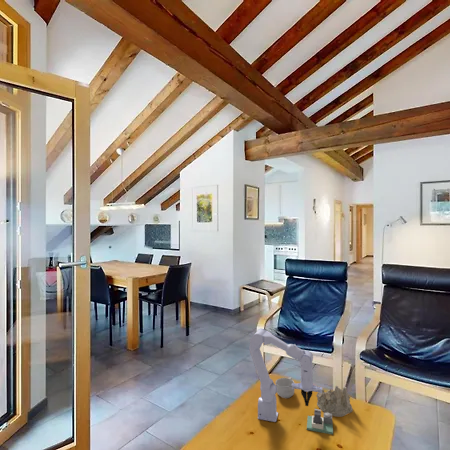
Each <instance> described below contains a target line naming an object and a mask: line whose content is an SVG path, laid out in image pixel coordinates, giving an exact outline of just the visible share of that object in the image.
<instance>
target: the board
mask: <svg viewBox="0 0 450 450" xmlns="http://www.w3.org/2000/svg"><path fill="white" fill-rule="evenodd" d="M333 427H334V426H333V416H332V414H330V413H325V412H323V417H322V416H321V424H317V423H314V415H307V422H306V430H307V431H311V432H312V431H313V432H318V433H322V434H323V433H324V434H328V435H334V428H333Z"/></svg>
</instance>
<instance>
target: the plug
mask: <svg viewBox="0 0 450 450" xmlns="http://www.w3.org/2000/svg"><path fill="white" fill-rule="evenodd" d="M313 416H314V423H317V424H321V417H322V410H321V409H320V408H319V409H317V408H314V412H313Z"/></svg>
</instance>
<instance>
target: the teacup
mask: <svg viewBox="0 0 450 450" xmlns="http://www.w3.org/2000/svg"><path fill="white" fill-rule="evenodd" d="M292 383H295V381H294V380H293V378H292V377H290V376H289V377H288V378H287V377H281V378H278V379H276V380H275V383H274V384H275V385H276V386H277V393H276V394H277V395H278V396H279V397H281V398H283V399H290V398H292V396H293V395H295V389H292Z"/></svg>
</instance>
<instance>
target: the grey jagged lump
mask: <svg viewBox="0 0 450 450" xmlns="http://www.w3.org/2000/svg"><path fill="white" fill-rule="evenodd" d="M315 396H316V398H317V400H316V406H317V407H318V408H319V410H321V412H323V413H330V414H332V417H341V418H342V417H344V416H346V415H349V414H351V413H353V406H352V404H351V400H350V399H351V397H350V395H349V393H348V389H347V387H346V386H343V387H342V389H341V388H339V386H338V385H335V387H334V390H332V388H331V389H329V390H327V391H325V389H323V388H322V393H320V392H316V395H315Z"/></svg>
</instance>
